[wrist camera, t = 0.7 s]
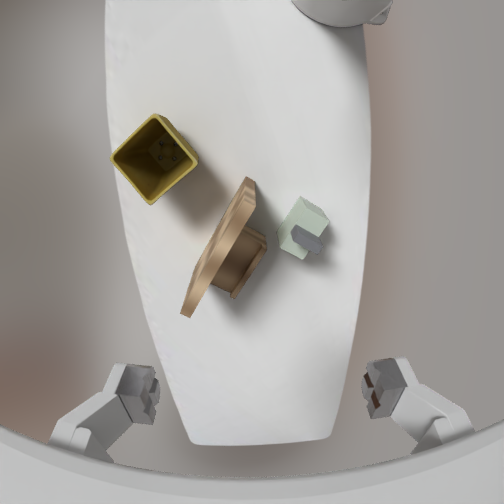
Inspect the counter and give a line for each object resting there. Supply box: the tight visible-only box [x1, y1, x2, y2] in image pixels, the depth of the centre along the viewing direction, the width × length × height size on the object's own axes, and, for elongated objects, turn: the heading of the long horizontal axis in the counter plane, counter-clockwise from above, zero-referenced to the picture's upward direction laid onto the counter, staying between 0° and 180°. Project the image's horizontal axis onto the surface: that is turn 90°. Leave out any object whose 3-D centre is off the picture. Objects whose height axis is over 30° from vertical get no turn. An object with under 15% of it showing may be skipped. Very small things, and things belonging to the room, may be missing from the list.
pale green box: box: [277, 196, 330, 260], centre depth 44 cm, size 7×4×9 cm, turn 150°
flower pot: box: [110, 114, 199, 205], centre depth 40 cm, size 9×9×9 cm
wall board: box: [180, 177, 267, 318], centre depth 44 cm, size 18×8×13 cm, turn 150°
